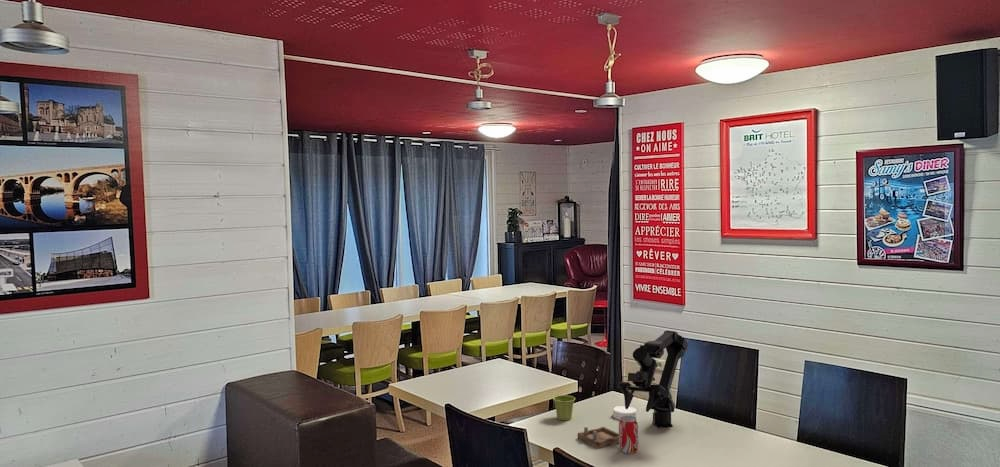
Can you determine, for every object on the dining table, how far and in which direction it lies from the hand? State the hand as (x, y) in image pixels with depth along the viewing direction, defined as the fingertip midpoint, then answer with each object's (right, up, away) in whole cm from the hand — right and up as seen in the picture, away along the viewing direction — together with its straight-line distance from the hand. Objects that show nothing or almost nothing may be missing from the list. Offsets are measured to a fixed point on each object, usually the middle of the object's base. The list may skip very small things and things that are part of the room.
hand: (636, 410), depth 240 cm
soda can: (-4, -13, -7) cm, 16 cm away
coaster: (+2, -12, +31) cm, 33 cm away
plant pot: (-24, -12, +30) cm, 40 cm away
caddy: (-13, -13, +4) cm, 18 cm away
